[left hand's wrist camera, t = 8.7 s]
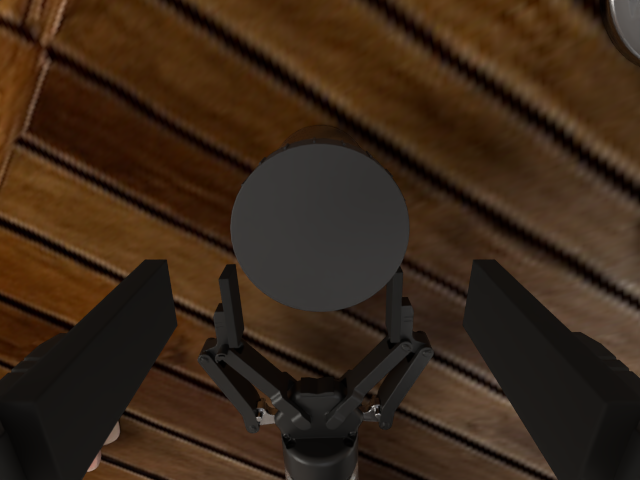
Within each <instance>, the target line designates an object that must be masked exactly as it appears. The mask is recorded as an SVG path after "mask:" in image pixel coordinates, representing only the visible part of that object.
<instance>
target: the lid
mask: <svg viewBox="0 0 640 480" xmlns="http://www.w3.org/2000/svg"><path fill="white" fill-rule="evenodd" d="M259 164H260V165H259V166H258V167H257V168H256V169H255V170H254V171H253V172H252V173H251V175H250V176H249V177H248V178H247V179H246V180H245V181H244V182H243V183H242V185H241V186H242V187H241V189H240V191H239V193H238V195H237V198H236V200H235V203H234V206H233V209H232V216H231V240H232V244H233V249H234V252H235V255H236V257H237V260H238V262H239V264H240V266H241V268H242V269H243V271H244V272H245V274H246V275H247V277H248V278H249V279H250V280H251V281H252V283H253V284H254V285H255V286H256V287H257V288H258V289H260V290H261V291H262V292H263V293H264V294H266V295H267V296H269V297H270V298H272V299H274V300H276V301H278V302H280V303H282V304H284V305H287V306H289V307H292V308H296V309H300V310H305V311H314V312H326V311H335V310H340V309H344V308H348V307H351V306H353V305H356V304H358V303H360V302H362V301H365V300H366V299H368V298H369V297H371V296H373V295H374V294H376V293H377V292H378V291H379V290H380V289H382V288H383V287H384V286H385V285H386V284H387V283H388V281H389V280H390V279H391V278H392V277H393V275H394V274H395V272H396V271H397V269H398V268H399V266H400V264H401V262H402V260H403V257H404V255H405V252H406V248H407V244H408V239H409V216H408V211H407V206H406V203H405V199H404V197H403V195H402V193H401V191H400V189H399V187H398V186H397V184H396V183H395V181H394V180H393V178H392V177H393V176H392V175H391V173H390V172H389V171H388V170H387V169H384V168H383V167H382V166H381V165H380V163H379V162H378V161H377V160H376V159H374V158H373V157H372V156H371V155H370V153H369V152H368V151H366V152H365V151H363V150H362V149H360V148H358V147H356V146H354V145H351V144H349V143H346V142H344V141H343V140H341V141H339V140H334V139H326V138H316V137H314V138H313V139H306V140H301V141H297V142H294V143H291V144H289V143H287V144H286V145H285V146H284V147H282V148H280V149H278V150H277V151H275V152H273V153H272V154H271V155H269V156H268V157H267V158H266V157H264V158H263V159H262V160H261V162H260V163H259Z"/></svg>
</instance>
